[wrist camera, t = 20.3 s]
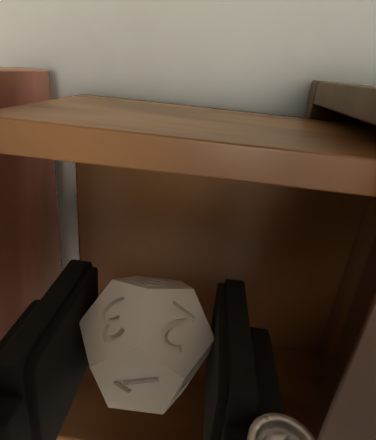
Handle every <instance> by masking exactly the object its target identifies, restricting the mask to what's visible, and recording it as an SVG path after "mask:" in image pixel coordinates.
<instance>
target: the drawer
mask: <svg viewBox="0 0 376 440" xmlns="http://www.w3.org/2000/svg"><path fill="white" fill-rule="evenodd" d="M54 160H59V161H68V162H76V183H77V206H78V230H79V254H80V260H81V261H89V262H91V263H92V267H97V269H98V297H99V296H100V294H101V293H102V292H103V290H104V289H105V288H106V287H107V285H108V284H109V283H110V281H111V280H112V279H118V278H124V277H131V276H145V277H153V278H162V279H171V280H179V281H182V282H184V283H185V284H187V285H188V286H190V287H191V288H193V289H194V291H195V293H196V295H197V298H198V300H199V302H200V305H201V307H202V309H203V312H204V314H205V316H206V319H207V321H208V323H209V326H210V328H211V323H212V317H213V310H214V304H215V298H216V291H217V285H218V283H225V279H233V280H241V281H244V283H245V291H246V299H247V307H248V315H249V323H250V327H255V328H262V329H267V330H268V331H269V335H270V340H271V345H272V350H273V356H274V361H275V366H276V371H277V376H278V382H279V387H280V392H281V397H282V402H283V407H284V413H285V415H287V416H290V417H292V418H294V419H296V420H297V421H299V422H300V423H301V424H303V425H304V426H305V427H307V424H308V421H309V418H310V416H311V413H312V410H313V407H314V404H315V402H316V399H317V396H318V393H319V391H320V388H321V385H322V382H323V380H324V377H325V374H326V371H327V368H328V366H329V363H330V360H331V357H332V355H333V352H334V349H335V346H336V344H337V341H338V338H339V335H340V333H341V330H342V327H343V324H344V321H345V319H346V316H347V313H348V310H349V308H350V305H351V302H352V299H353V297H354V294H355V291H356V288H357V285H358V283H359V280H360V277H361V274H362V272H363V269H364V266H365V263H366V261H367V258H368V255H369V252H370V250H371V247H372V244H373V241H374V238H375V236H376V126H369V125H360V124H351V123H341V122H332V121H323V120H314V119H304V118H295V117H286V116H277V115H267V114H258V113H249V112H240V111H230V110H221V109H212V108H203V107H193V106H184V105H175V104H166V103H157V102H147V101H138V100H129V99H120V98H110V97H101V96H92V95H83V94H81V95H75V96H69V97H63V98H58V99H52V100H50V90H49V75H48V71H47V70H41V69H31V68H22V67H0V341H1V340H2V338H3V337H4V336H5V335H6V333H7V332H8V331H9V330H10V328H11V327H12V326H13V325H14V323H15V322H16V321H17V320H18V318H19V317H20V316H21V315H22V313H23V312H24V311H25V310H26V308H27V307H28V306H29V305H30V304H31V303H32V302H33V301H34V300H36V299H39V300H41V298H42V297H43V296H44V294H45V293H46V292H47V290H48V289H49V288H50V287H51V285H52V284H53V283H54V281H55V280H56V279H57V277H58V276H59V275H60V274H61V272H62V265H61V250H60V236H59V221H58V207H57V192H56V177H55V163H54ZM205 377H206V359H205V360H204V362H203V363H202V365H201V366H200V368H199V369H198V371H197V372H196V373H195V375H194V376H193V378H192V379H191V381H190V382H189V384H188V385H187V387H186V388H185V390H184V391H183V392H182V394H181V395H180V396H179V397H178V398H177V399H176V400H175V401H174V403H173V404H172V405H171V406H170V407H169V408H168V409H167V411H166V412H165V413H164V414H163V415H162V414H154V413H147V412H139V411H131V410H124V409H116V408H108V406H107V404H106V402H105V399H104V397H103V395H102V393H101V391H100V389H99V386H98V384H97V382H96V380H95V378H94V376H93V373H92V371H91V369H90V367H89V366H88V368H87V370H86V373H85V375H84V377H83V380H82V382H81V384H80V386H79V389H78V391H77V393H76V396H75V398H74V400H73V403H72V405H71V407H70V409H69V412H68V414H67V416H66V419H65V421H64V423H63V426H62V428H61V430H60V432H59V435H58V437H57V439H56V440H203V425H204V401H205Z"/></svg>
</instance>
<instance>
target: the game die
mask: <svg viewBox="0 0 376 440" xmlns="http://www.w3.org/2000/svg"><path fill="white" fill-rule="evenodd" d="M79 325H80V329H81V333H82V337H83V342H84V346H85V350H86V354H87V358H88V363H89V367H90V369H91V371H92V373H93V376H94V378H95V380H96V382H97V384H98V386H99V389H100V391H101V393H102V395H103V397H104V399H105V402H106V404H107V406H108V408H116V409H124V410H131V411H139V412H147V413H154V414H162V415H163V414H164V413H165V412H166V411H167V409H168V408H169V407H170V406H171V405H172V404H173V403H174V401H175V400H176V399H177V398H178V397H179V396H180V395H181V394H182V392H183V391H184V390H185V388H186V387H187V385H188V384H189V382H190V381H191V379H192V378H193V376H194V375H195V373H196V372H197V371H198V369H199V368H200V366H201V365H202V363H203V362H204V360H205V359H206V357H207V356H208V354H209V353H210V350H211V347H212V344H213V342H214V335H213V332H212V330H211V328H210V326H209V323H208V321H207V319H206V316H205V314H204V312H203V309H202V307H201V305H200V302H199V300H198V298H197V295H196V293H195V291H194V289H193V288H191V287H190V286H188V285H187V284H185V283H184V282H182V281H179V280H171V279H162V278H153V277H145V276H131V277H124V278H118V279H112V280H111V281H110V283H109V284H108V285H107V287H106V288H105V289H104V290H103V292H102V293H101V294H100V296H99V297H98V298H97V299H96V301H95V302H94V303H93V305H92V306H91V307H90V308H89V310H88V311H87V312H86V314H85V315H84V316H83V317H82V319H81V320H80V323H79Z"/></svg>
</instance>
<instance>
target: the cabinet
mask: <svg viewBox="0 0 376 440" xmlns="http://www.w3.org/2000/svg"><path fill="white" fill-rule="evenodd" d="M304 119H314V120H323V121H332V122H341V123H351V124H360V125H369V126H376V87H372V86H363V85H353V84H343V83H334V82H324V81H315V80H314V81H313V82H312V86H311V90H310V94H309V99H308V103H307V108H306V112H305V116H304ZM306 428H307V429H308V430H309V431H310V432H311V433H312V435H313V436H314V438H315V440H376V236H375V238H374V241H373V244H372V247H371V250H370V252H369V255H368V258H367V261H366V263H365V266H364V269H363V272H362V274H361V277H360V280H359V283H358V285H357V288H356V291H355V294H354V297H353V299H352V302H351V305H350V308H349V310H348V313H347V316H346V319H345V321H344V324H343V327H342V330H341V333H340V335H339V338H338V341H337V344H336V346H335V349H334V352H333V355H332V357H331V360H330V363H329V366H328V368H327V371H326V374H325V377H324V380H323V382H322V385H321V388H320V391H319V393H318V396H317V399H316V402H315V404H314V407H313V410H312V413H311V416H310V418H309V421H308V424H307V427H306Z"/></svg>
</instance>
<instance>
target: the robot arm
mask: <svg viewBox="0 0 376 440" xmlns="http://www.w3.org/2000/svg"><path fill="white" fill-rule="evenodd" d="M97 298H98V269H97V267H92V263H91V262H89V261H81V260H71V261H70V262H69V263H68V264H67V266H66V267H65V268H64V270H63V271H62V272H61V274H60V275H59V276H58V277H57V279H56V280H55V281H54V283H53V284H52V285H51V287H50V288H49V289H48V290H47V292H46V293H45V294H44V296H43V297H42V298H41V300H39V299H36V300H34V301H33V302H32V303H31V304H30V305H29V306H28V307H27V308H26V310H25V311H24V312H23V313H22V315H21V316H20V317H19V318H18V320H17V321H16V322H15V323H14V325H13V326H12V327H11V328H10V330H9V331H8V332H7V333H6V335H5V336H4V337H3V338H2V340H1V341H0V440H56V439H57V437H58V435H59V432H60V430H61V428H62V426H63V423H64V421H65V419H66V416H67V414H68V412H69V409H70V407H71V405H72V403H73V400H74V398H75V396H76V393H77V391H78V389H79V386H80V384H81V382H82V380H83V377H84V375H85V373H86V370H87V368H88V366H89V363H88V358H87V354H86V350H85V346H84V342H83V337H82V333H81V329H80V325H79V323H80V320H81V319H82V317H83V316H84V315H85V314H86V312H87V311H88V310H89V308H90V307H91V306H92V305H93V303H94V302H95V301H96V299H97ZM211 330H212V332H213V335H214V342H213V344H212V347H211V350H210V353H209V354H208V356H207V357H206V377H205V401H204V425H203V440H315V438H314V436H313V435H312V433H311V432H310V431H309V430H308V429H307V428H306V427H305V426H304V425H303V424H301V423H300V422H299V421H297V420H296V419H294V418H292V417H290V416H287V415H285V413H284V407H283V402H282V397H281V392H280V387H279V382H278V376H277V371H276V366H275V361H274V356H273V350H272V345H271V340H270V335H269V331H268V330H267V329H262V328H255V327H250V323H249V315H248V307H247V299H246V291H245V283H244V281H241V280H233V279H225V283H218V285H217V291H216V298H215V304H214V310H213V317H212V323H211Z"/></svg>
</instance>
